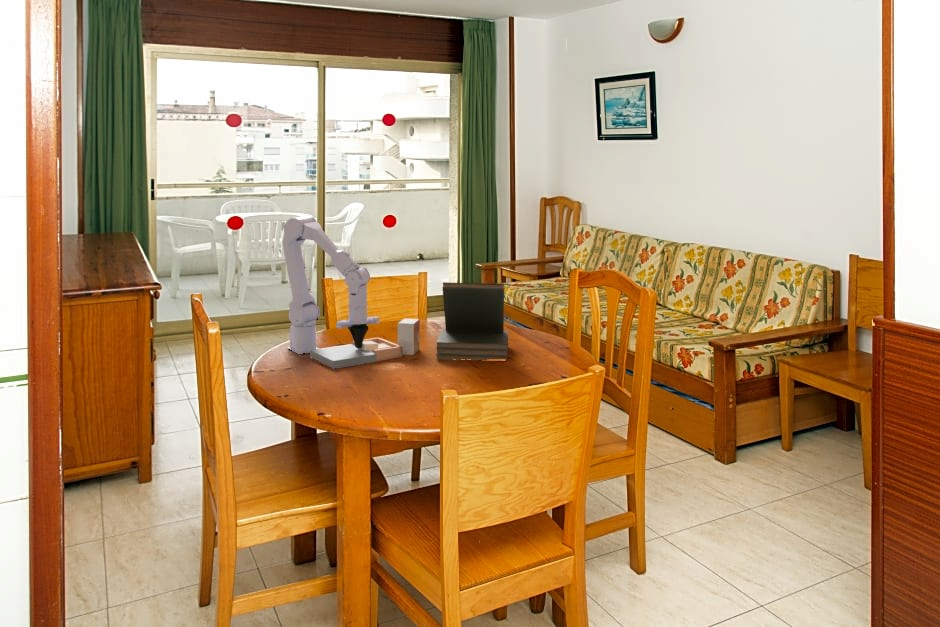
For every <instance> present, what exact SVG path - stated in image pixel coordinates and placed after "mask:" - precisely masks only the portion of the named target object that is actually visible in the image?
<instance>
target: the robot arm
mask: <svg viewBox="0 0 940 627" xmlns="http://www.w3.org/2000/svg"><path fill="white" fill-rule="evenodd" d="M282 227H283V231H284V232H283V237H282V242H281V243H282V249H283V253H284V259H285V264H286V265H285V266H286V269H287V275H288V280H289V284H290V291H291V294H292V297H291V299H290V301H289V303H288V307H289V311H288V319H289V322H291V325H290V327H289V346H288V347H287V350H289V349H290V350H289V351H291V350H292V351H291V352H293V353H296V354H298V355H304V354H303V353H305V354H310V350H314V349H320V348H319V347H317V326H316V325H317V319H319V316H320V315H321V314H320V312H321V311H320V308H319V306H318V304H317V303H316V300H315V299H316V298H315V297H314V296H313V295H312V294H311V293H310V289H309V284H308V278H307V275H306V270H305V269H306V268H305V264H304V259H303V253H302V252H303V251H302V248H301V247H302V245H303V244H304V242H305V241H306V240H308V241H309V240H310V241H313V242H314V243H316V244H317V246H319V247H320V248H321V249H322V250H323V251H324V253H326V254H327V255H328V256H329V257H330V263H331V264H332V266H334V267H335V268H336V270H337V271H338V272H339V273H340V274H341V275H342V276H343V277H344V282H345V284H346V286H347V290H348V291H347V292H348V318H347V319H344V320H339V321H338V320H337V321H336V322H335V323H336V324H335V327H336V328H337V329H339V330H341V329H343V328H348V331H349V333H350V334H351V337H352V339H353V340H352V341H354V343H355V347H356V348H362V343H363V340H364V338H365V336H366V334H367V332H368V330H369V325H373V324H380V317H378V316H368V297H367V296H368V288H367V286H368V283H369V282H370V279H371V275H370V272H369V271H368V269H367V268H366V267H363V266H360V264H359V263H357V262H356V261H355V260H354V259H353V258H352V257H351V254H350V252H348V251H345V250H343V249H341V250H340V249H339V248H338V246H336V244H335V243H334V242H333V241H332V239H330V237H329V236H328V234H326V232H325V231H324V230H323V229H322V225H321V224H320V223H319V221H317V220H316V218H314V216H311V215H305V216H300V217H290V218H288V219H287V221H286V222H285V223H284V224H283V225H282Z"/></svg>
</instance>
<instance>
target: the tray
mask: <svg viewBox="0 0 940 627" xmlns="http://www.w3.org/2000/svg"><path fill="white" fill-rule="evenodd" d="M363 341H373V342H375V343H378V344H382V343H385V344H388V345H390V346H392V347H390V348H384V349H377V350H374V352H372V351H371V350H368V351H370V352H372V353H375V354H376V362H380V361H387V360H393V359H398V358H403V355H404V354H403V351H402V346H400V345H398V343H394V342H393V341H390V340H386V339H385V338H381V337H371V338H366V339H363ZM352 344H353V345H355V343H354V340H352Z"/></svg>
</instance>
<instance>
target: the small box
mask: <svg viewBox="0 0 940 627" xmlns="http://www.w3.org/2000/svg"><path fill="white" fill-rule="evenodd" d="M420 321H421V320H420V319H419V318H403V319H402V320H400V321H399V322H398V323H397V345H400V346H402V351H403V355H407V356H408V355H411V356H414V355H415V354H416V353H417V352H418V351H419V350H420Z"/></svg>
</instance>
